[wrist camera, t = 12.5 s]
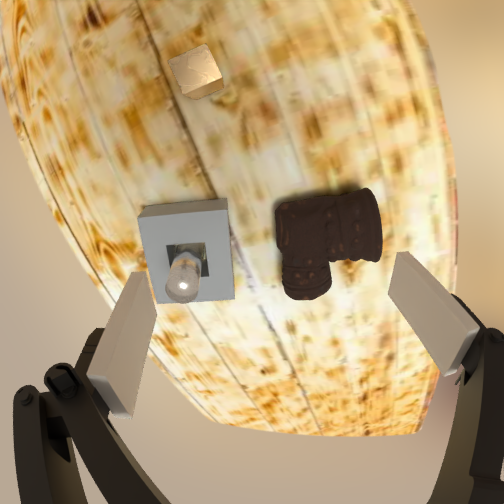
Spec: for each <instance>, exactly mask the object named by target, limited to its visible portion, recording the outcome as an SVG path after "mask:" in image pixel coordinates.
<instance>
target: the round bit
mask: <svg viewBox="0 0 504 504" xmlns="http://www.w3.org/2000/svg"><path fill="white" fill-rule="evenodd" d="M203 254H204V242H200V243H187V244H178V247H177V250H176V253H175V256H174V259H173V262H172V266H171V269H170V272H169V275H168V279H167V282H166V285H165V291H166V294H167V295H168V297H169V298H170V299H171V300H173V301H175V302H177V303H189V302H192V301H193V300H194V299H195V298H196V297H197V295H198V290H199V283H200V275H201V268H202V261H203Z"/></svg>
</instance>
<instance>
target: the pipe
mask: <svg viewBox="0 0 504 504" xmlns="http://www.w3.org/2000/svg"><path fill="white" fill-rule="evenodd" d="M275 219H276V234H277V247H278V248H279V250H280V251H281V253H282V255H283V261H282V263H283V269H282V272H283V275H282V279H283V280H282V284H283V286H284V291H285V293H286V294H287V295H288V296H289V297H290V298H292V299H294V300H314V299H316V298H317V297H319V296H321V295H323V294H325V293H326V292H327V291H328V290H329V289H330V287H331V285H332V277H331V271H330V265H329V261H330V262H336V261H337V260H346V259H348V258H349V259H350V260H351V261H357V260H360V259H364V260H366V261H372V262H378V261H379V260H380V257H381V254H382V244H383V239H382V225H381V217H380V213H379V208H378V204H377V201H376V198H375V196H374V194H373V193H372V191H371V190H370V189H368V188H363V189H360V190H357V191H354V192H352V193H350V194H347V193H344V194H341V195H340V196H319V197H314V198H309V199H305V200H300V201H294V202H287V203H282V204H281V205H280V206H278V208H277V209H276V210H275Z"/></svg>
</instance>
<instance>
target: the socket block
mask: <svg viewBox="0 0 504 504" xmlns="http://www.w3.org/2000/svg"><path fill="white" fill-rule="evenodd" d="M137 219H138V224H139V229H140V234H141V239H142V244H143V248H144V253H145V257H146V262H147V266H148V270H149V274H150V278H151V282H152V286H153V290H154V294H155V298H156V301H157V304H166V303H177V302H175V301H173V300H171V299H170V298H169V297H168V295H167V294H166V291H165V285H166V282H167V279H168V275H169V272H170V269H171V266H172V262H173V259H174V256H175V253H176V252H175V246H174V245H175V244H187V243H200V242H205V247H206V255H207V260H203V261H202V268H201V275H200V283H199V290H198V295H197V297H196V298H195V299H194V300H193V301H192V302H203V301H218V300H232V299H235V292H234V276H233V265H232V254H231V242H230V230H229V217H228V204H227V198H225V199H213V200H201V201H190V202H180V203H170V204H160V205H151V206H146V207H145V209H144V210H143V211H142V212H141V214H140V215H139V216H138V218H137Z"/></svg>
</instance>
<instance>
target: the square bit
mask: <svg viewBox="0 0 504 504" xmlns="http://www.w3.org/2000/svg"><path fill="white" fill-rule="evenodd" d="M168 63H169V65H170V67H171V69H172V72H173V74H174V76H175V78H176V80H177V82H178V84H179V86H180V88H181V91H182V93H183V95H185V96H188V97H190V98H193V99H195V100H198V99H200V98H202V97H204V96H206V95H209V94H211V93H213V92H216V91H218V90H220V89H223V88H224V84H223V78H222V75H221V73H220V71H219V69H218V67H217V65H216V63H215V61H214V59H213V56H212V54H211V52H210V50H209V48H208V46H207V44H203V45H201V46H199V47H196V48H194V49H192V50H189V51H187V52H185V53H183V54H181V55H179V56H176V57H174V58H172V59H170V60H168Z"/></svg>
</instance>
